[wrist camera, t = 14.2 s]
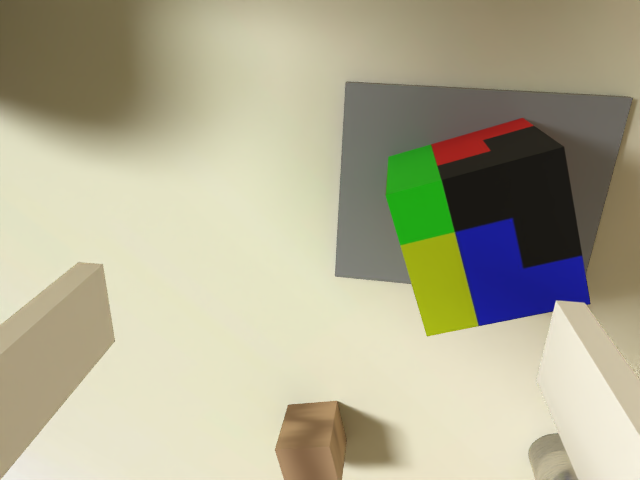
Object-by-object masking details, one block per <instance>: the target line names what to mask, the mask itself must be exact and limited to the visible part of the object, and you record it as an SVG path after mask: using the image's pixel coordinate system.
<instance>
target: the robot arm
mask: <svg viewBox="0 0 640 480" xmlns="http://www.w3.org/2000/svg"><path fill="white" fill-rule="evenodd" d="M114 342H115V338H114V332H113V326H112V319H111V313H110V307H109V300H108V294H107V288H106V281H105V275H104V269H103V264H94V263H81V262H78V263H77V264H76V265H74V266H73V267H72V268H71V269H70V270H68V271H67V272H66V273H65V274H63V275H62V276H61V277H60V278H58V279H57V280H56V281H55V282H53V283H52V284H51V285H50V286H48V287H47V288H46V289H45V290H43V291H42V292H41V293H40V294H38V295H37V296H36V297H35V298H33V299H32V300H31V301H30V302H29V303H27V304H26V305H25V306H24V307H22V308H21V309H20V310H19V311H17V312H16V313H15V314H14V315H12V316H11V317H10V318H9V319H7V320H6V321H5V322H4V323H2V324H1V325H0V480H1V478H2V477H3V476H4V475H5V473H6V472H7V471H8V470H9V469H10V467H11V466H12V465H13V464H14V463H15V461H16V460H17V459H18V458H19V457H20V455H21V454H22V453H23V452H24V450H25V449H26V448H27V447H28V446H29V444H30V443H31V442H32V441H33V440H34V438H35V437H36V436H37V435H38V434H39V432H40V431H41V430H42V429H43V428H44V426H45V425H46V424H47V423H48V421H49V420H50V419H51V418H52V417H53V415H54V414H55V413H56V412H57V411H58V409H59V408H60V407H61V406H62V405H63V403H64V402H65V401H66V400H67V398H68V397H69V396H70V395H71V394H72V392H73V391H74V390H75V389H76V388H77V386H78V385H79V384H80V383H81V382H82V380H83V379H84V378H85V377H86V375H87V374H88V373H89V372H90V371H91V369H92V368H93V367H94V366H95V365H96V363H97V362H98V361H99V360H100V359H101V357H102V356H103V355H104V354H105V352H106V351H107V350H108V349H109V348H110V346H111V345H112V344H113V343H114ZM536 382H537V384H538V386H539V389H540V391H541V394H542V396H543V398H544V401H545V403H546V405H547V408H548V410H549V412H550V415H551V417H552V419H553V422H554V424H555V426H556V429H557V431H558V433H559V436H560V438H561V440H562V443H563V445H564V447H565V450H566V452H567V454H568V457H569V459H570V462H571V464H572V466H573V469H574V471H575V473H576V476H577V478H578V480H640V379H639V378H638V376H637V375H636V374H635V372H634V371H633V369H632V368H631V367H630V365H629V364H628V362H627V361H626V360H625V358H624V357H623V355H622V354H621V353H620V351H619V350H618V348H617V347H616V346H615V344H614V343H613V341H612V340H611V339H610V337H609V336H608V335H607V333H606V332H605V330H604V329H603V328H602V326H601V325H600V323H599V322H598V321H597V319H596V318H595V316H594V315H593V314H592V312H591V311H590V309H589V308H588V307H587V305H586V304H585V303H582V302H570V301H557V300H556V302H555V306H554V310H553V314H552V318H551V322H550V326H549V330H548V334H547V338H546V342H545V346H544V350H543V354H542V358H541V362H540V366H539V370H538V374H537V378H536Z"/></svg>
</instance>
